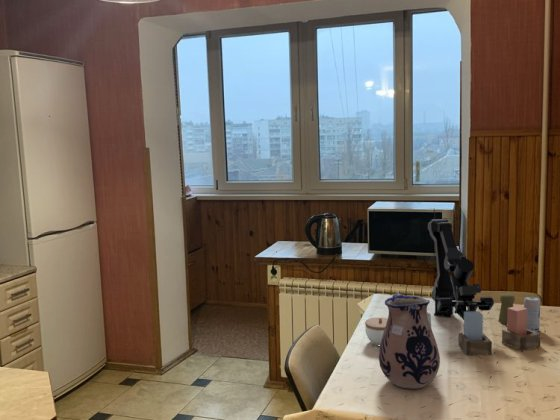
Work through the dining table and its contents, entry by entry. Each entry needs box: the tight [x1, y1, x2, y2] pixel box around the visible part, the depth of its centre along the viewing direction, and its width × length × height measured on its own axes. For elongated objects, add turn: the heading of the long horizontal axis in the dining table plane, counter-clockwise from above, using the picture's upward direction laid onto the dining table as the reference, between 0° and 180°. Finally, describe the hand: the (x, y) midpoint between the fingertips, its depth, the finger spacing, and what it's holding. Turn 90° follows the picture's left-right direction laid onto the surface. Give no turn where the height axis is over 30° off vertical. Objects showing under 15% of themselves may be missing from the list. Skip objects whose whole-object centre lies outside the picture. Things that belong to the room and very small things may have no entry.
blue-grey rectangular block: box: [463, 310, 484, 341], centre depth 187 cm, size 4×5×12 cm
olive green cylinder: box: [498, 293, 516, 325], centre depth 212 cm, size 6×6×11 cm
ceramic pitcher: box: [378, 292, 441, 390], centre depth 163 cm, size 18×21×25 cm
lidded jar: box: [364, 317, 388, 346], centre depth 195 cm, size 11×11×9 cm
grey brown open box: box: [457, 332, 493, 357], centre depth 186 cm, size 9×8×4 cm
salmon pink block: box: [506, 305, 527, 336], centre depth 191 cm, size 4×5×12 cm
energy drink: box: [523, 296, 541, 332], centre depth 202 cm, size 5×5×12 cm
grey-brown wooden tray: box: [501, 328, 542, 352], centre depth 189 cm, size 9×8×4 cm
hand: (470, 326), depth 190 cm, fingers closed
